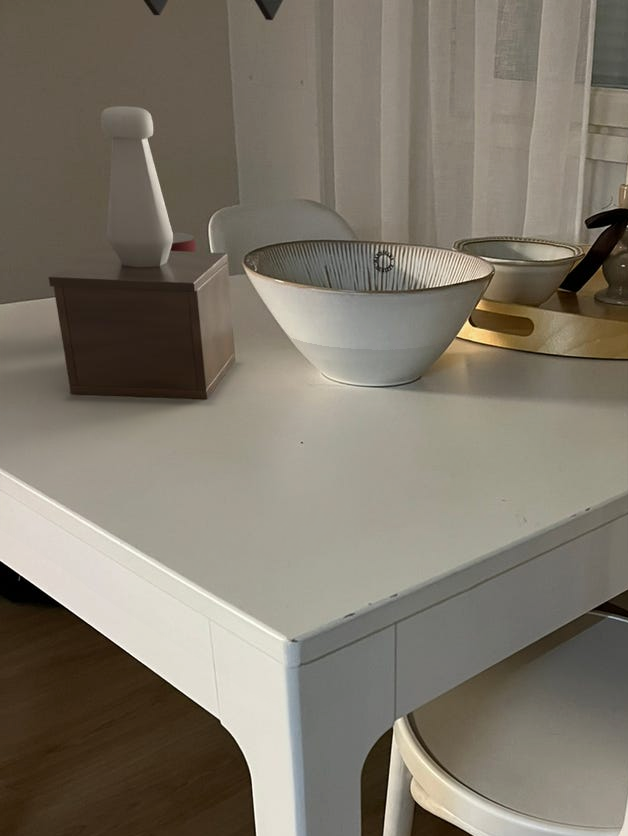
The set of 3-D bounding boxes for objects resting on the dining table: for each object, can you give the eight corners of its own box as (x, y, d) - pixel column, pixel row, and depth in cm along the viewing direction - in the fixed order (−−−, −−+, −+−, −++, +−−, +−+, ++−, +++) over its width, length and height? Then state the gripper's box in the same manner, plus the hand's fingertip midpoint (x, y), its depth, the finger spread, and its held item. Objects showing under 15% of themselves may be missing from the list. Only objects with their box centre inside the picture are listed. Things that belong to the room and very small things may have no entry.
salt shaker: (97, 263, 95) (75, 105, 88) (144, 255, 99) (126, 104, 93) (142, 271, 93) (123, 110, 86) (188, 263, 97) (173, 108, 90)
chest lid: (194, 292, 90) (193, 282, 90) (49, 286, 90) (48, 276, 89) (227, 261, 102) (227, 253, 102) (100, 256, 102) (99, 247, 102)
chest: (207, 399, 96) (196, 290, 91) (70, 394, 95) (52, 284, 90) (235, 360, 107) (227, 262, 102) (114, 355, 107) (100, 256, 102)
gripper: (176, -207, 99) (78, -34, 95) (392, -223, 89) (292, -31, 85) (219, -130, 106) (129, 34, 102) (424, -137, 96) (332, 44, 92)
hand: (203, 5), depth 94 cm, fingers open, 13 cm apart
